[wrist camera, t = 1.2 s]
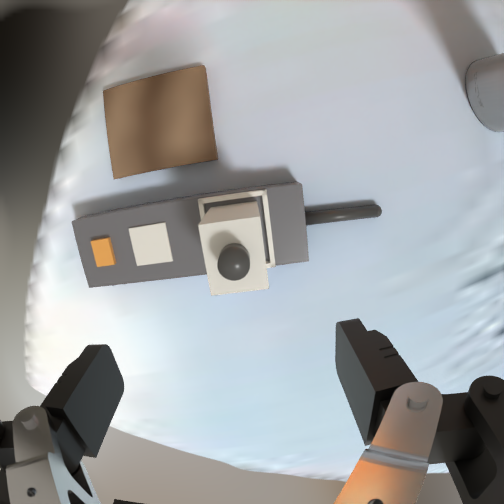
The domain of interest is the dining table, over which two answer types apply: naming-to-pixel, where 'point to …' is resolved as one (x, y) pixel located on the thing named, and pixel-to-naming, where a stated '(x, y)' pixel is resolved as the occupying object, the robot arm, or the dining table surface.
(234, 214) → the plug
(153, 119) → the walnut board
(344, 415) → the dining table surface
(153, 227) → the grey panel with rod
